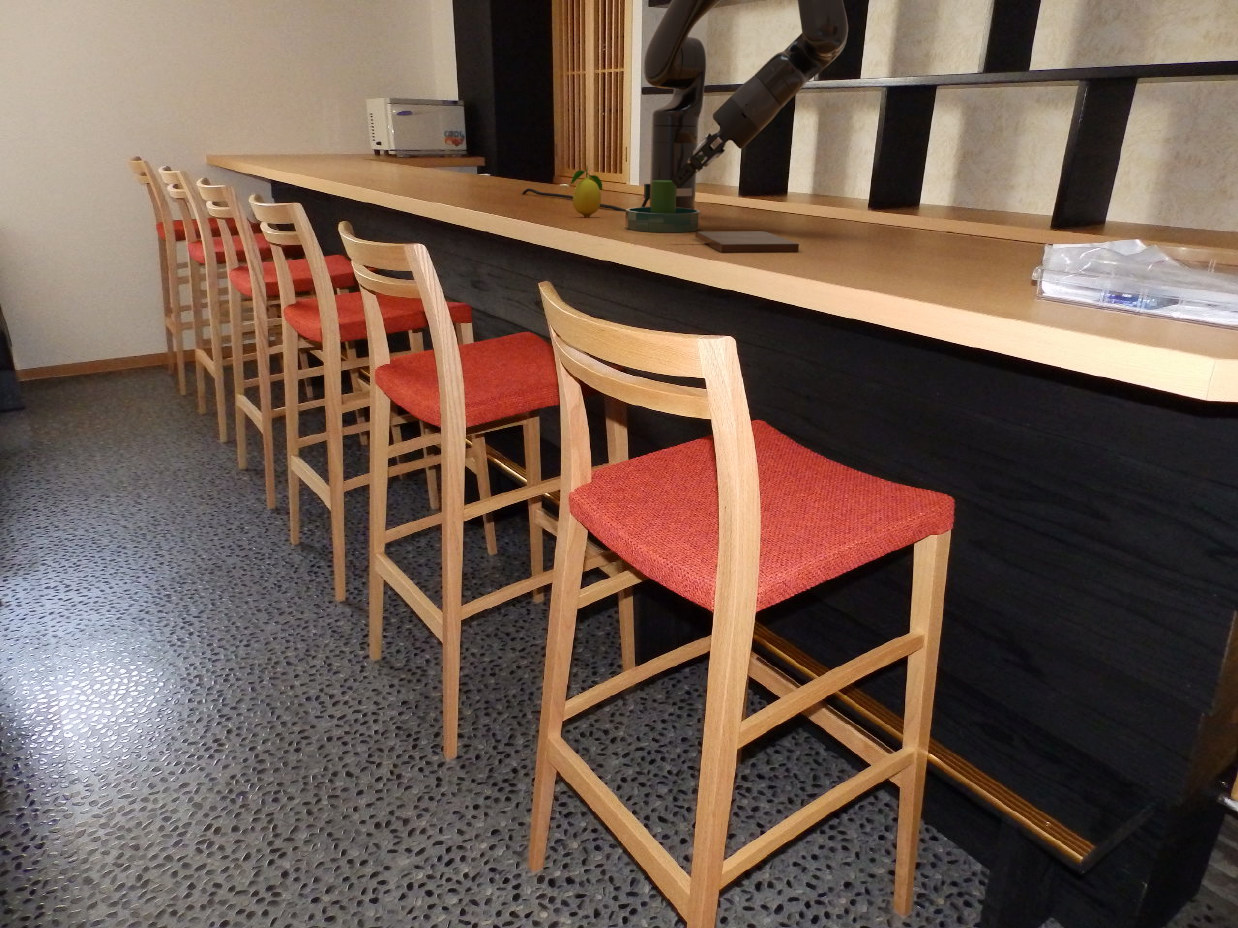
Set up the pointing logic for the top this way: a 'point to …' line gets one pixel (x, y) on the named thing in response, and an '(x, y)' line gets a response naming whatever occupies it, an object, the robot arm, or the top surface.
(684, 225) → the bowl
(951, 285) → the top surface
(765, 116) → the robot arm
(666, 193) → the tall green pillar
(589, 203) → the lemon
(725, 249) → the board
